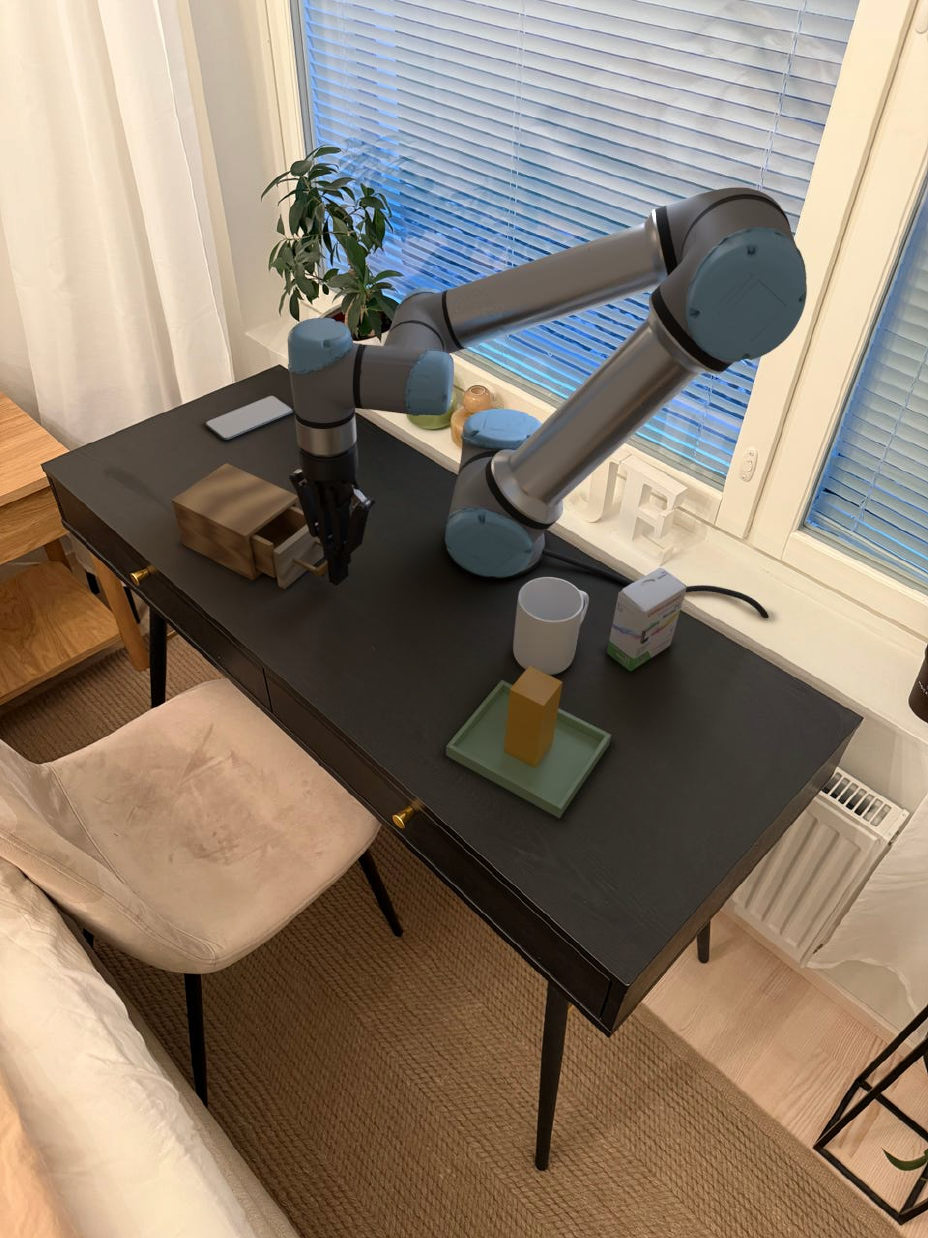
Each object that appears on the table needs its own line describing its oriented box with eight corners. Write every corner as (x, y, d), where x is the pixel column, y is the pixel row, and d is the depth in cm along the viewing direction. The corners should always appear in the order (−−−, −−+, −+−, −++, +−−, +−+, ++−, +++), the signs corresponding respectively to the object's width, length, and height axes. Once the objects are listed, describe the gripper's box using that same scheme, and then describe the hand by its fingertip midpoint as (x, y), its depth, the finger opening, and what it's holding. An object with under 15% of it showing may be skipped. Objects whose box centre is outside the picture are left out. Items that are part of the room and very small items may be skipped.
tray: (609, 744, 114) (611, 734, 112) (559, 818, 106) (561, 809, 104) (500, 689, 120) (501, 679, 118) (445, 755, 112) (446, 745, 110)
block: (552, 744, 113) (562, 681, 104) (534, 768, 110) (543, 706, 102) (521, 728, 114) (529, 665, 106) (503, 751, 112) (509, 689, 103)
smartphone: (294, 409, 165) (224, 439, 158) (295, 412, 166) (225, 441, 158) (273, 394, 169) (203, 422, 161) (273, 396, 169) (204, 424, 162)
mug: (604, 648, 125) (615, 593, 118) (540, 687, 120) (548, 631, 112) (563, 614, 130) (571, 558, 123) (499, 649, 125) (504, 593, 117)
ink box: (630, 673, 122) (645, 612, 114) (604, 652, 125) (617, 590, 117) (672, 645, 126) (689, 584, 118) (646, 625, 129) (661, 564, 121)
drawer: (358, 565, 135) (355, 530, 130) (313, 604, 129) (309, 569, 124) (263, 519, 142) (257, 484, 137) (216, 554, 136) (209, 519, 131)
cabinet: (303, 539, 140) (298, 495, 134) (253, 580, 133) (244, 536, 127) (234, 506, 146) (226, 462, 139) (182, 544, 138) (171, 499, 132)
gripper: (386, 445, 114) (390, 581, 130) (306, 412, 118) (320, 548, 135) (349, 473, 109) (358, 611, 126) (268, 438, 114) (287, 575, 130)
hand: (339, 578), depth 130 cm, fingers closed
